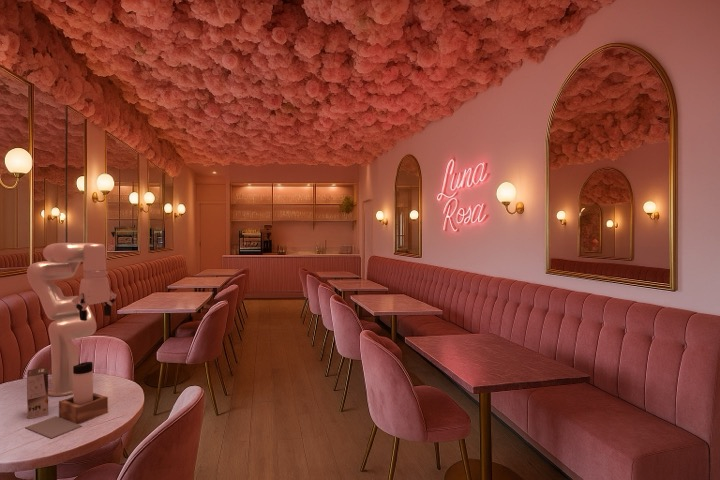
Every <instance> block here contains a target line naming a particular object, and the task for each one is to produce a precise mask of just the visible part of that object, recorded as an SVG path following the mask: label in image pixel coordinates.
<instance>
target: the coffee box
mask: <svg viewBox="0 0 720 480" xmlns="http://www.w3.org/2000/svg"><path fill="white" fill-rule="evenodd" d="M26 387H27V388H26V389H27V390H26V392H27V393H26V396H27V397H26V398H27V401H26V402H27V404H26V405H27V419H33V418H39V417H43V416H47V415H49V395H48V390H49V369H48V366H45V367H44V366H43V367H38V368H33V369H27V374H26Z"/></svg>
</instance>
